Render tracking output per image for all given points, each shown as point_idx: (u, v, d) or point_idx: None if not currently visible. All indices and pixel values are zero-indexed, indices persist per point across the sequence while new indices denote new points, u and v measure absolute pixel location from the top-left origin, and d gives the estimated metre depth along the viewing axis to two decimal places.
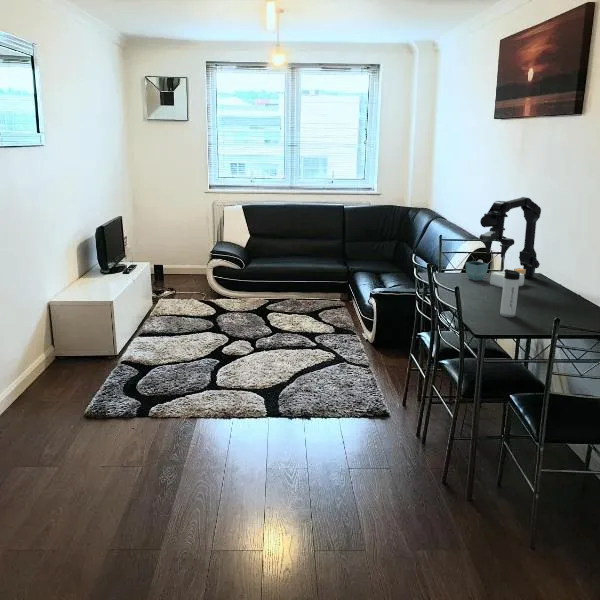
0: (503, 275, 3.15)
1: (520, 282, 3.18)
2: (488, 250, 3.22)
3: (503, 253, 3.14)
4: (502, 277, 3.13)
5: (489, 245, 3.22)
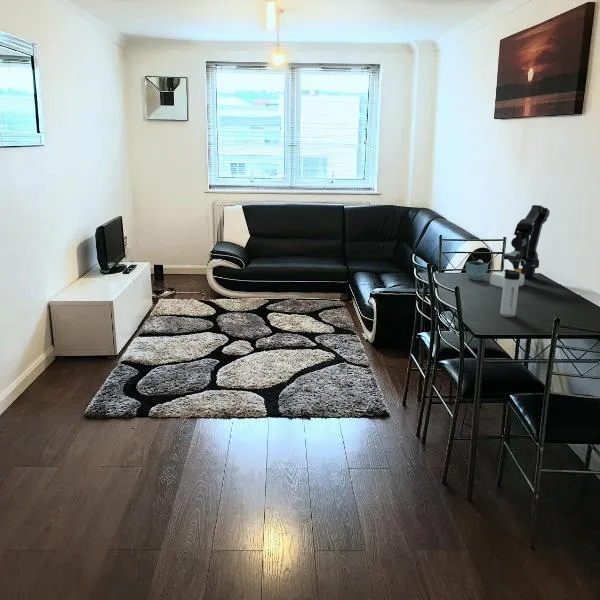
0: (503, 275, 3.15)
1: (520, 282, 3.18)
2: None
3: (524, 272, 3.21)
4: (502, 277, 3.13)
5: (517, 265, 3.25)
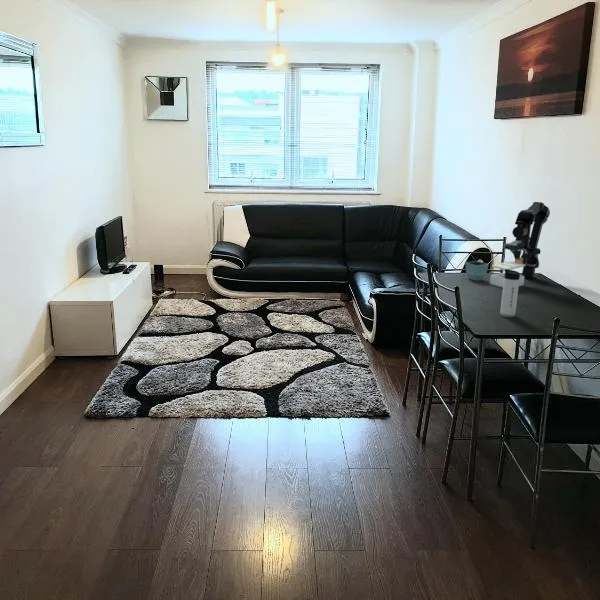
0: (504, 267, 3.13)
1: (520, 282, 3.18)
2: None
3: (525, 261, 3.19)
4: (503, 269, 3.12)
5: (518, 255, 3.23)
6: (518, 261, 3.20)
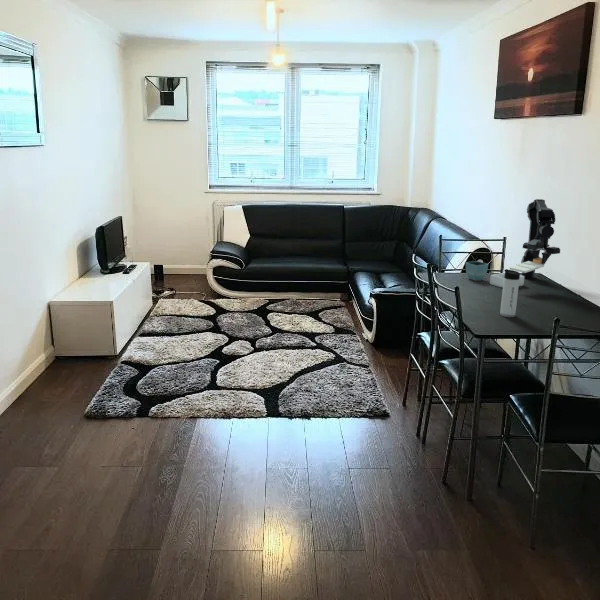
0: (522, 269, 3.04)
1: (520, 282, 3.18)
2: None
3: (544, 261, 3.09)
4: (521, 271, 3.03)
5: (537, 254, 3.13)
6: (536, 261, 3.10)
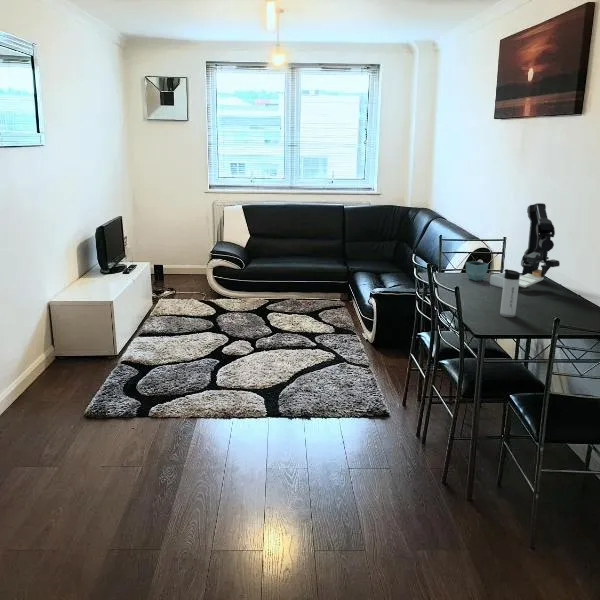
0: (522, 283, 3.05)
1: None
2: None
3: (543, 274, 3.10)
4: (521, 286, 3.04)
5: (536, 267, 3.15)
6: (536, 274, 3.12)
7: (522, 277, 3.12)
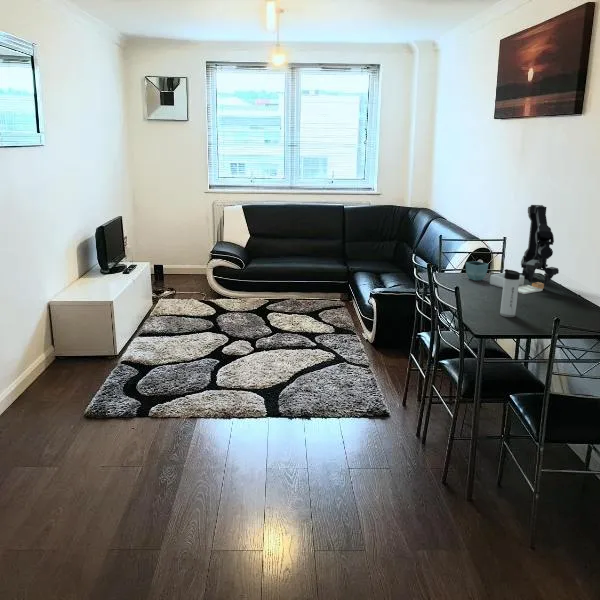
0: (521, 290, 3.06)
1: (520, 282, 3.18)
2: (530, 278, 3.18)
3: (547, 282, 3.09)
4: (520, 292, 3.05)
5: (531, 273, 3.18)
6: (535, 285, 3.13)
7: (521, 286, 3.14)
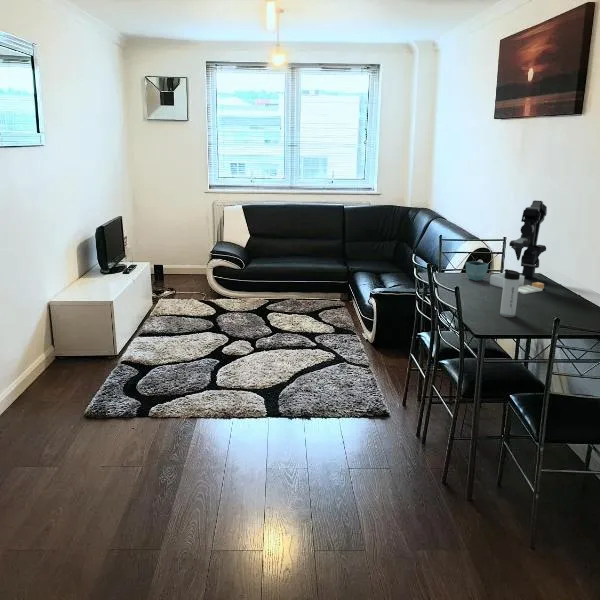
0: (521, 290, 3.06)
1: (520, 282, 3.18)
2: (518, 257, 3.23)
3: (535, 259, 3.15)
4: (520, 292, 3.05)
5: (519, 251, 3.23)
6: (535, 285, 3.13)
7: (521, 286, 3.14)
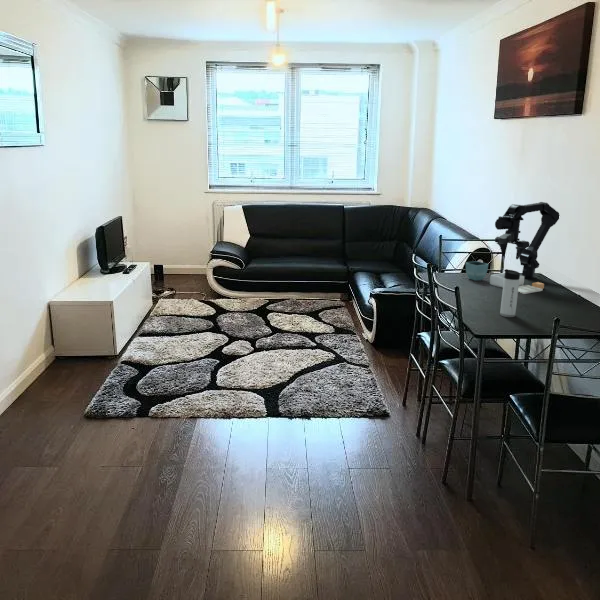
0: (521, 290, 3.06)
1: (520, 282, 3.18)
2: (504, 252, 3.32)
3: (518, 255, 3.24)
4: (520, 292, 3.05)
5: (504, 247, 3.32)
6: (535, 285, 3.13)
7: (521, 286, 3.14)
